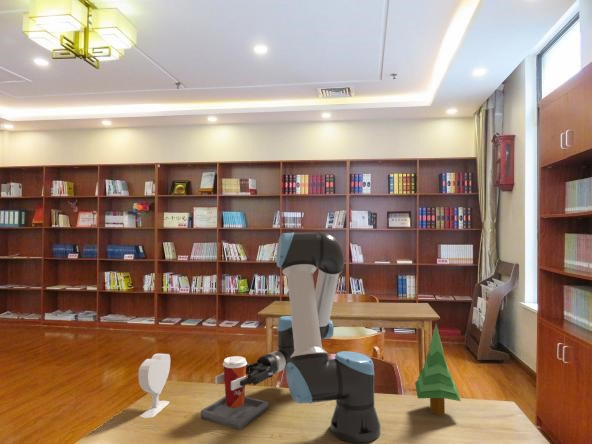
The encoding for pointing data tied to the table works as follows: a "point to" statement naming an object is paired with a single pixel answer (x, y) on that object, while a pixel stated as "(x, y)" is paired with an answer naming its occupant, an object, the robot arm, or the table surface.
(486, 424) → the table surface
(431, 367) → the decorative tree
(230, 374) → the coffee cup
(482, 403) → the table surface
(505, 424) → the table surface
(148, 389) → the heart sculpture
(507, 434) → the table surface
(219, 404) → the tray
